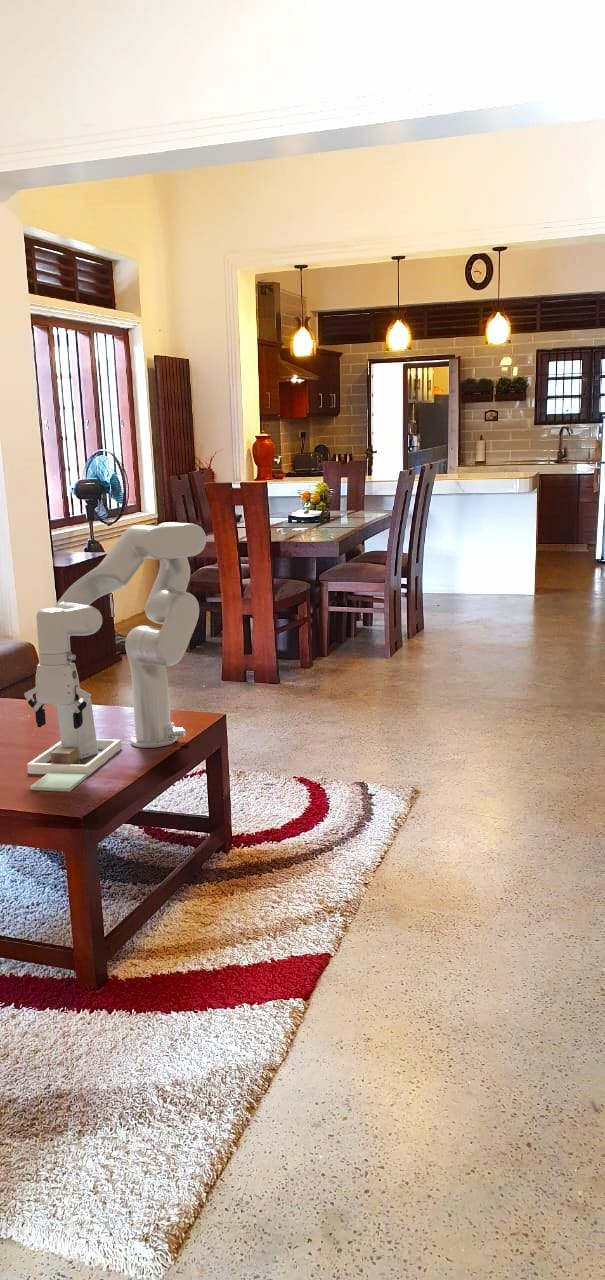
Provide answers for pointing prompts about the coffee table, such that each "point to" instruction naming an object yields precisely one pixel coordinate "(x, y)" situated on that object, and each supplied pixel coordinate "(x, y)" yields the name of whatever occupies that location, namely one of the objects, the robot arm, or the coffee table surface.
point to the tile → (58, 781)
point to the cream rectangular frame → (43, 767)
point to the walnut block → (65, 755)
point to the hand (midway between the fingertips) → (59, 726)
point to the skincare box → (78, 730)
